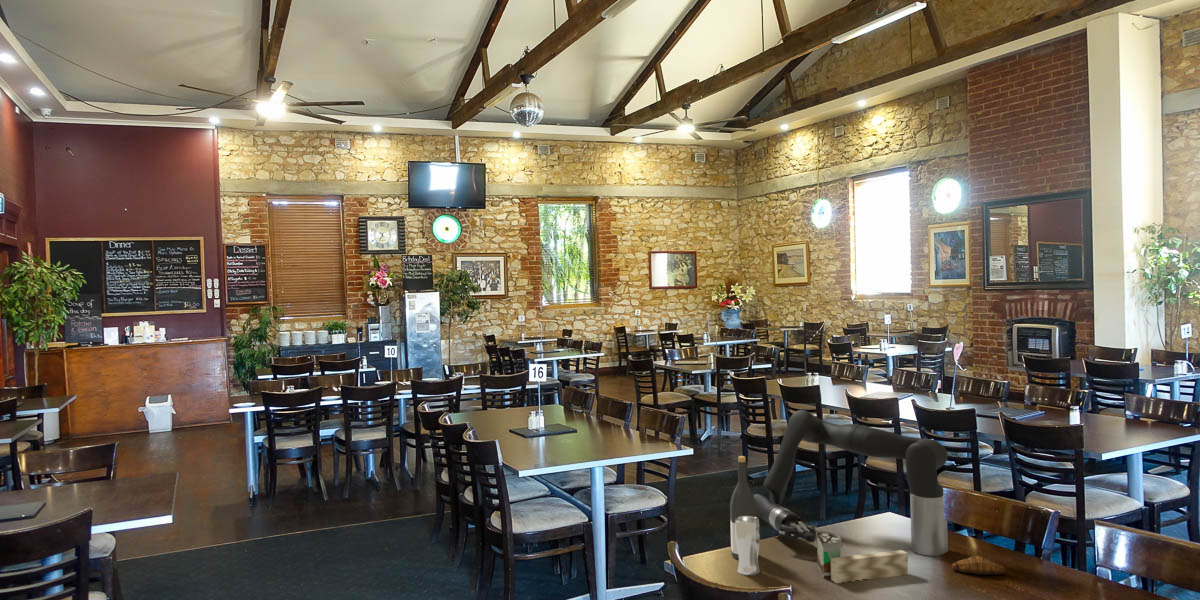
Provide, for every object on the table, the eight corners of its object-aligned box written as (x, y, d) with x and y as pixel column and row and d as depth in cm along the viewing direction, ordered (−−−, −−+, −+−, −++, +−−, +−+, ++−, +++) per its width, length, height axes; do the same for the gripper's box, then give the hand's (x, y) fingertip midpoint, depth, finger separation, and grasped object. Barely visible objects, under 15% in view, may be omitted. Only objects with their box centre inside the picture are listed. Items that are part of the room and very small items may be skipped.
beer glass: (762, 568, 211) (761, 516, 211) (759, 577, 204) (758, 523, 204) (738, 566, 213) (736, 514, 213) (734, 574, 207) (733, 521, 206)
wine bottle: (728, 559, 219) (725, 458, 219) (734, 550, 227) (731, 453, 226) (755, 561, 216) (752, 460, 216) (760, 552, 223) (757, 454, 223)
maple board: (902, 571, 206) (901, 550, 206) (907, 574, 203) (907, 553, 203) (831, 579, 201) (830, 558, 201) (835, 583, 199) (835, 561, 199)
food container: (847, 581, 200) (846, 544, 200) (824, 580, 201) (823, 544, 201) (838, 564, 212) (838, 530, 212) (817, 564, 213) (816, 529, 213)
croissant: (954, 576, 202) (954, 558, 202) (949, 567, 208) (949, 549, 208) (1009, 579, 198) (1008, 561, 198) (1002, 570, 205) (1001, 552, 205)
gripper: (765, 511, 232) (791, 528, 215) (803, 508, 235) (832, 524, 218) (766, 535, 232) (791, 554, 215) (804, 531, 235) (832, 549, 218)
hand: (812, 539), depth 217 cm, fingers closed
